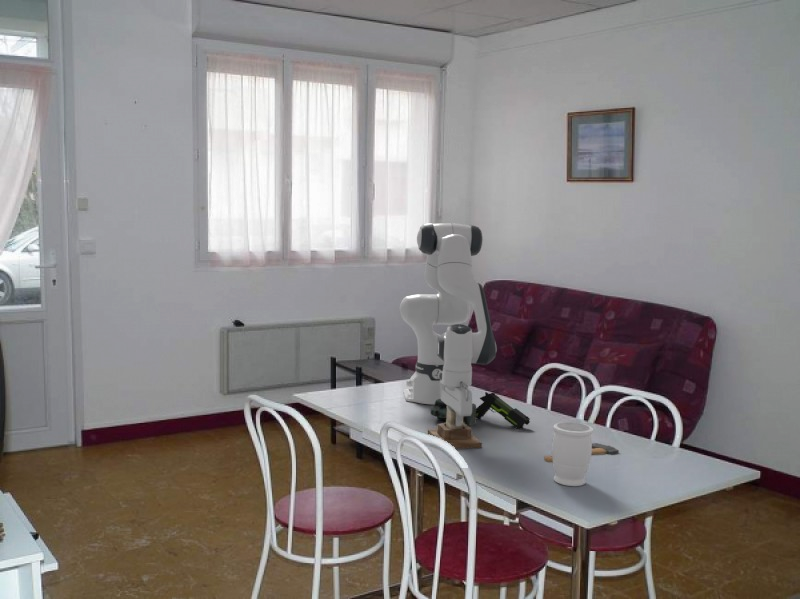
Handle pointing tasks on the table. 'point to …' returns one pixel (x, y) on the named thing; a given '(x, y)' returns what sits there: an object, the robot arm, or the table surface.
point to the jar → (571, 452)
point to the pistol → (501, 410)
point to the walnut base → (459, 442)
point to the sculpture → (441, 412)
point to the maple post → (452, 419)
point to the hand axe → (593, 451)
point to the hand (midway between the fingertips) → (454, 423)
